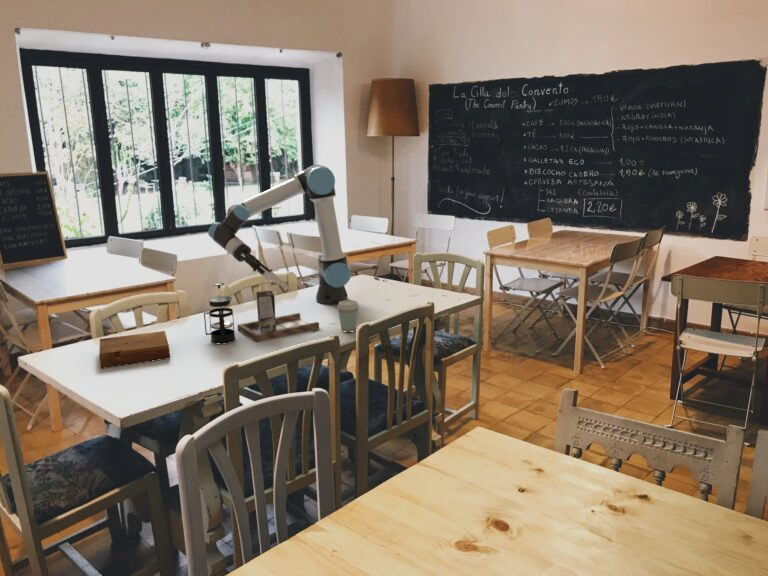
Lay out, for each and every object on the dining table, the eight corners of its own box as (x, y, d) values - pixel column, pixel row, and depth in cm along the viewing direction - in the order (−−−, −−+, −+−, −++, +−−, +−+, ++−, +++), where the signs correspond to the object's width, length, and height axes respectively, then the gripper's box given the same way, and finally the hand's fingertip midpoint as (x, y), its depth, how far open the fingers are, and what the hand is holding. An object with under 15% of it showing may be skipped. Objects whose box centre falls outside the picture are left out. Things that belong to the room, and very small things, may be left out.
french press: (236, 335, 254) (232, 279, 249) (237, 342, 246) (233, 285, 240) (206, 338, 252) (201, 281, 246) (206, 345, 243) (201, 287, 237)
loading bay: (298, 318, 276) (298, 312, 276) (319, 328, 262) (319, 322, 261) (237, 330, 261) (237, 324, 260) (256, 341, 246) (255, 335, 246)
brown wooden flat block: (101, 370, 221) (99, 355, 219) (101, 353, 237) (99, 339, 236) (170, 360, 229) (168, 345, 228) (166, 344, 246) (164, 330, 244)
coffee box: (276, 334, 255) (274, 295, 251) (260, 336, 253) (258, 297, 249) (274, 327, 264) (271, 290, 260) (258, 329, 262) (255, 291, 258)
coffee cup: (360, 327, 262) (359, 299, 259) (357, 334, 254) (356, 305, 251) (339, 327, 263) (339, 299, 260) (336, 334, 255) (335, 305, 252)
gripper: (243, 261, 282) (278, 291, 278) (221, 251, 258) (259, 283, 254) (254, 248, 282) (289, 277, 278) (233, 237, 258) (271, 269, 254)
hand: (275, 280), depth 266 cm, fingers open, 13 cm apart
